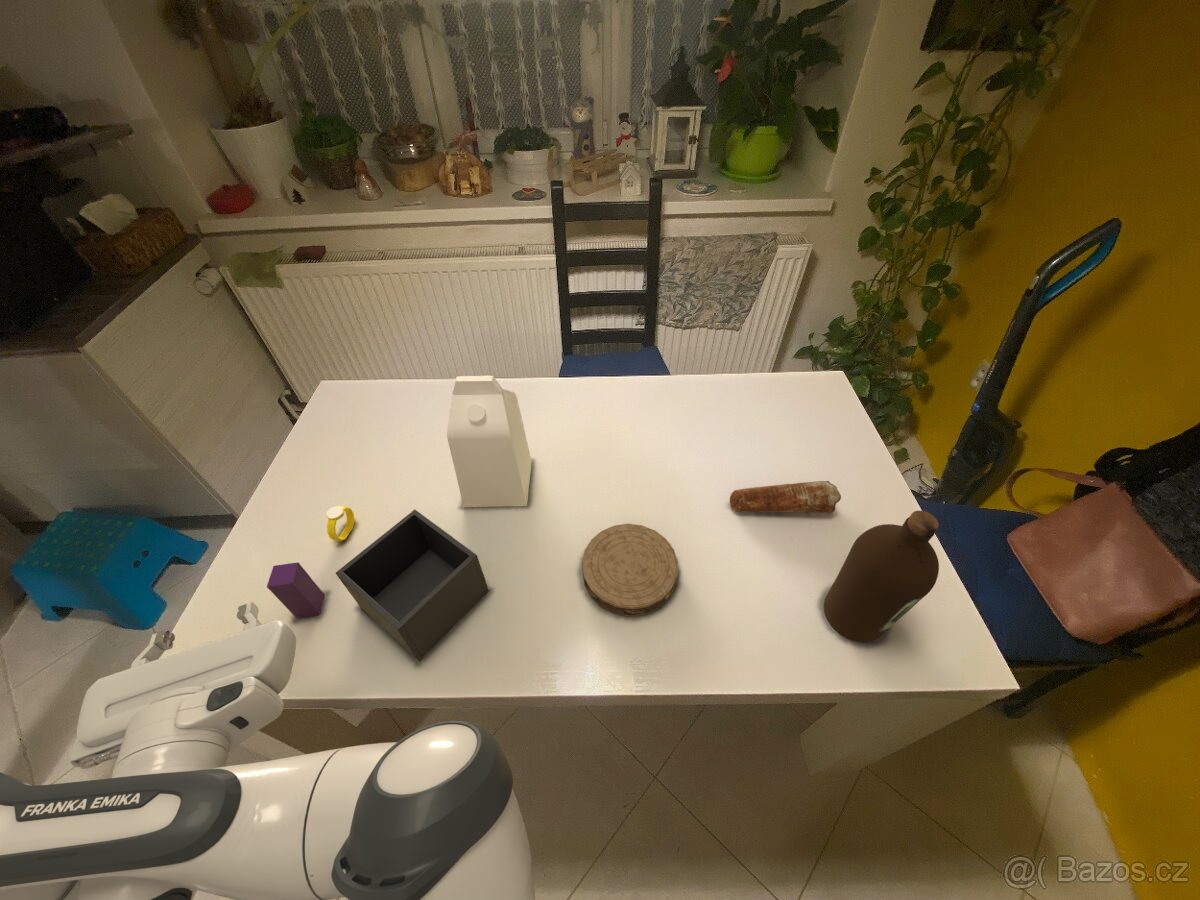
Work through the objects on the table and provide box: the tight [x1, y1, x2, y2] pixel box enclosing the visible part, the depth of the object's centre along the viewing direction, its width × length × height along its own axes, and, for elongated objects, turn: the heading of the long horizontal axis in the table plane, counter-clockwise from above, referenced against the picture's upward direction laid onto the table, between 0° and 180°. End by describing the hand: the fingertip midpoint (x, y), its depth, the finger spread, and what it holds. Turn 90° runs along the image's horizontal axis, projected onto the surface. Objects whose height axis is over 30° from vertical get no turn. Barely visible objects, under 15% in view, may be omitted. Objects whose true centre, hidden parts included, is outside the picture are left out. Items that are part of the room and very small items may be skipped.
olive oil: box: [823, 510, 940, 644], centre depth 72 cm, size 11×11×25 cm
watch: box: [325, 505, 355, 542], centre depth 90 cm, size 6×3×6 cm, turn 173°
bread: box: [729, 480, 842, 514], centre depth 94 cm, size 6×19×6 cm, turn 88°
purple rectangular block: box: [266, 561, 325, 619], centre depth 79 cm, size 4×4×10 cm
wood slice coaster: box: [581, 523, 679, 618], centre depth 85 cm, size 16×16×3 cm
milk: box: [446, 375, 533, 508], centre depth 91 cm, size 12×12×26 cm
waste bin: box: [335, 509, 490, 663], centre depth 79 cm, size 15×15×11 cm
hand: (207, 619), depth 62 cm, fingers open, 8 cm apart
